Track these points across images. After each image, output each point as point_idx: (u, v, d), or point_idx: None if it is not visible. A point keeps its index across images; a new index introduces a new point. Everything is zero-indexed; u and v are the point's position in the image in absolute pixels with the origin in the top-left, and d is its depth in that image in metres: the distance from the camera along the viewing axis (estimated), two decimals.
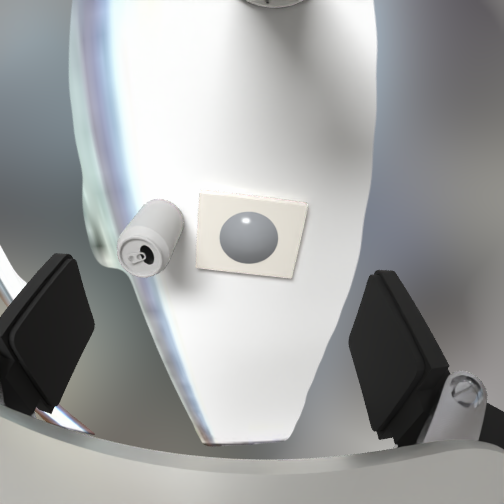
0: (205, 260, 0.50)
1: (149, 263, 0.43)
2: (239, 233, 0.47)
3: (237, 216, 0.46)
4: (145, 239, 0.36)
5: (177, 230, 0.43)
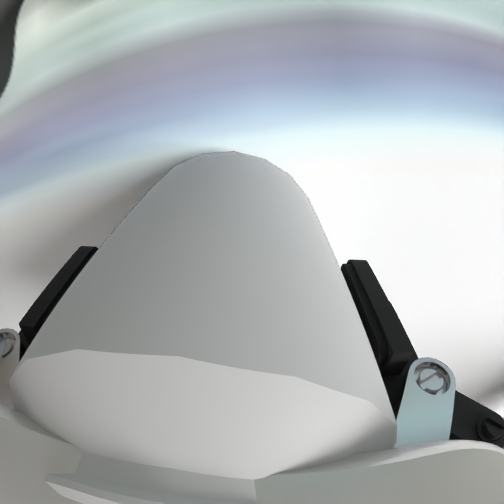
0: None
1: None
2: None
3: None
4: None
5: None
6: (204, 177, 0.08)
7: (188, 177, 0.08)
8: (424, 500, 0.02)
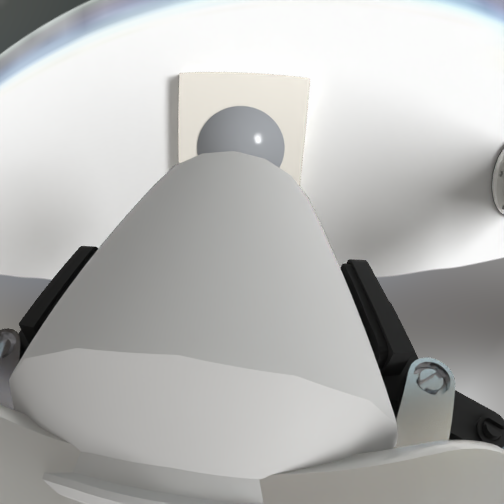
0: (195, 86, 0.27)
1: None
2: (249, 134, 0.30)
3: (275, 131, 0.30)
4: None
5: None
6: (204, 177, 0.08)
7: (188, 177, 0.08)
8: (424, 500, 0.02)
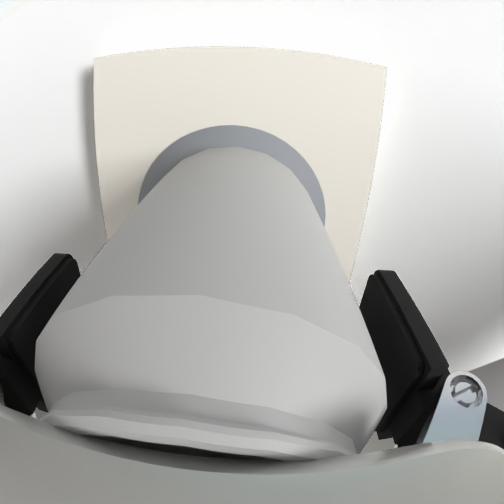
0: (127, 84, 0.11)
1: None
2: None
3: (307, 184, 0.14)
4: None
5: None
6: (212, 168, 0.09)
7: (197, 168, 0.09)
8: (424, 500, 0.02)
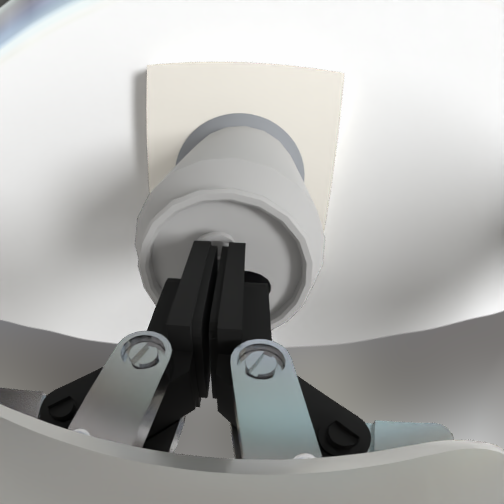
0: (171, 84, 0.18)
1: None
2: None
3: (291, 152, 0.20)
4: (300, 303, 0.11)
5: None
6: (232, 133, 0.15)
7: (223, 134, 0.15)
8: (424, 500, 0.02)
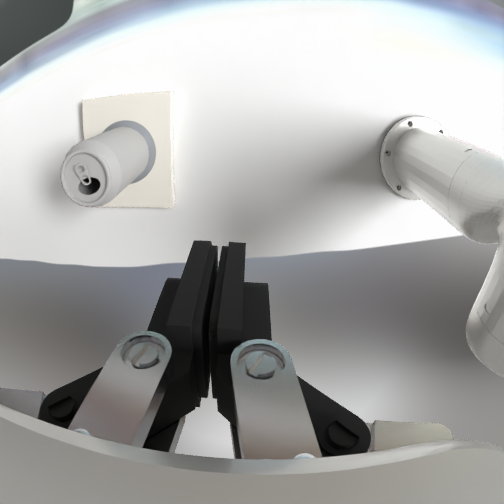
0: (92, 109, 0.34)
1: None
2: None
3: (148, 136, 0.37)
4: (108, 187, 0.28)
5: None
6: (108, 131, 0.32)
7: None
8: (424, 500, 0.02)
